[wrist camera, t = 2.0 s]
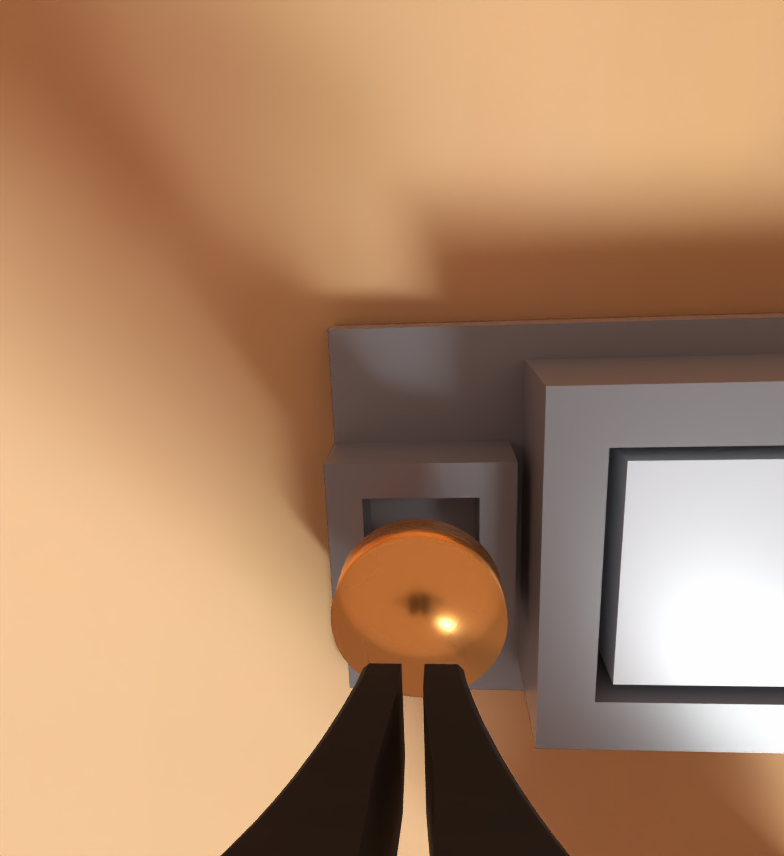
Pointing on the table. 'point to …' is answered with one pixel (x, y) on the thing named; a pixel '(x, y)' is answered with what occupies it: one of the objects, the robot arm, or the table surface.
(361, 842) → the robot arm
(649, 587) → the cartridge
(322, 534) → the table surface
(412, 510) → the housing
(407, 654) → the plunger
